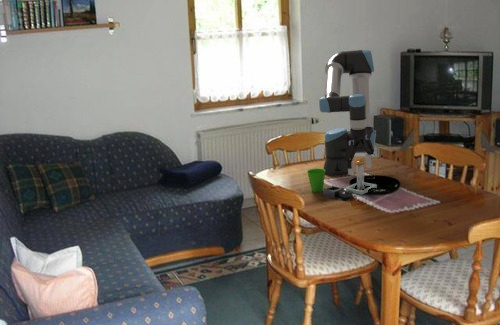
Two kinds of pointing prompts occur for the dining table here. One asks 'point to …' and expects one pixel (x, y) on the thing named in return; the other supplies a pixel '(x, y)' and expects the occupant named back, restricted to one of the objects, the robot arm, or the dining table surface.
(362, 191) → the tray
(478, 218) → the dining table surface
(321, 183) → the cup
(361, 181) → the pin
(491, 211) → the dining table surface
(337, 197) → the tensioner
